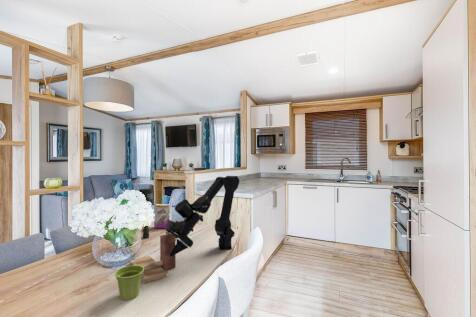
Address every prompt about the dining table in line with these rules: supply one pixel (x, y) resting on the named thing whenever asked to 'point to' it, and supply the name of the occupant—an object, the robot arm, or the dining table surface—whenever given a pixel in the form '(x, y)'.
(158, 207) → the candy bar box
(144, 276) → the board
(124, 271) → the plant pot
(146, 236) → the stick grenade
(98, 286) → the dining table surface
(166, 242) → the upright wooden block
